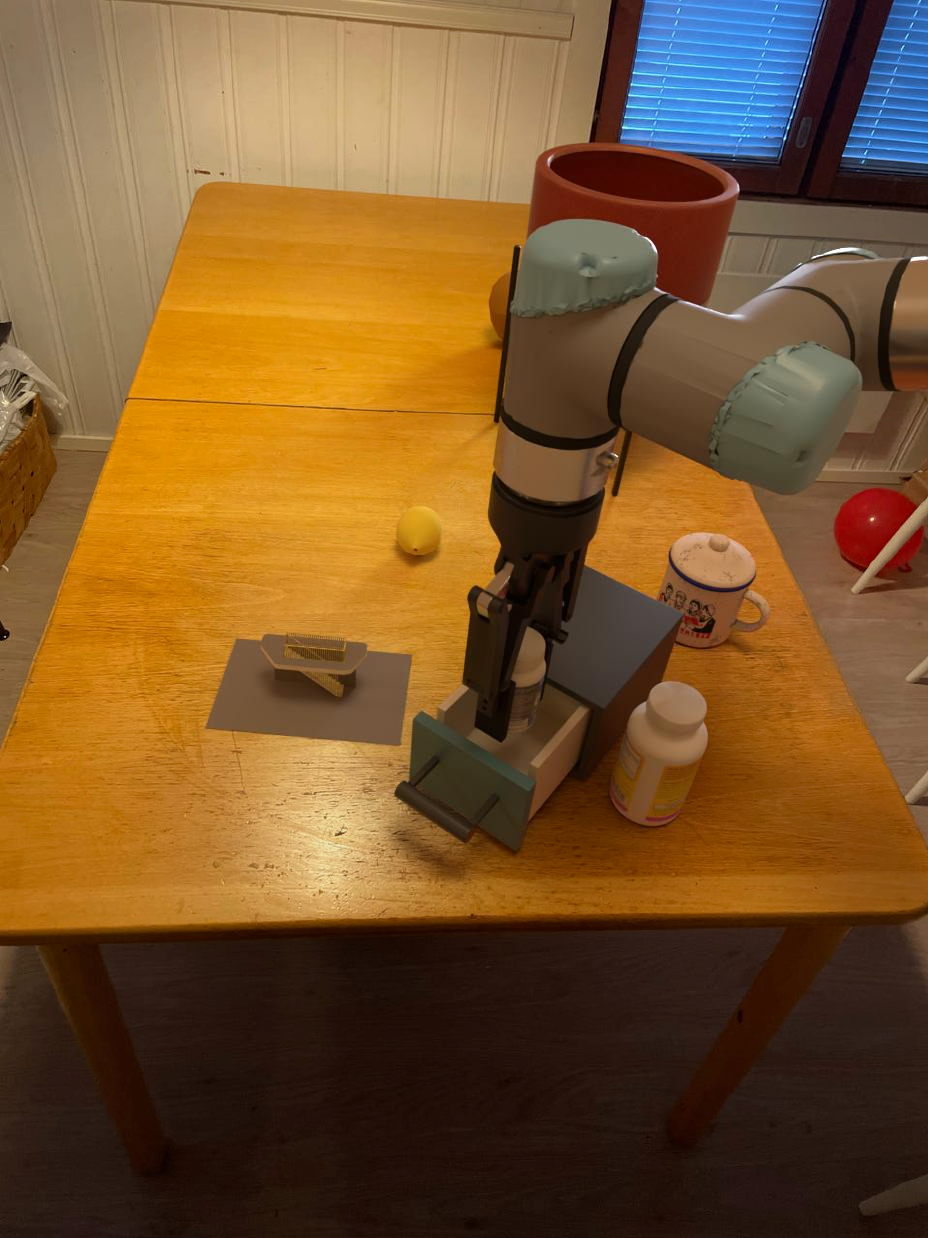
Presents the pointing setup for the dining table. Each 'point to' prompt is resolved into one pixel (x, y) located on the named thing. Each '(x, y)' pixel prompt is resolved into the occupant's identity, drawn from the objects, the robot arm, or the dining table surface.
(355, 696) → the platform
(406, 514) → the lemon
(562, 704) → the teal drawer
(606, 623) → the drawer cabinet
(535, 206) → the planter
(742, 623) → the teacup with lid
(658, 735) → the supplement bottle
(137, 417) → the dining table surface
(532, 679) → the pill bottle
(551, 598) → the robot arm
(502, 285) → the apple
